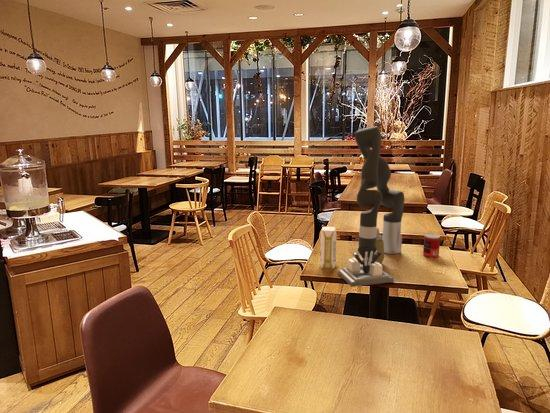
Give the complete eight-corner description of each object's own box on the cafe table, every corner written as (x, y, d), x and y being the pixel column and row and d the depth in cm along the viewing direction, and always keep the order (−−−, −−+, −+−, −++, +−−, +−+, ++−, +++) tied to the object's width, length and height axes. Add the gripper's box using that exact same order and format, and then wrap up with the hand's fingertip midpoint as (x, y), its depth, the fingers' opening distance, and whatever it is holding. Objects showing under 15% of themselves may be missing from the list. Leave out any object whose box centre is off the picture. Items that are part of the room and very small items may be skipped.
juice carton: (335, 263, 207) (336, 226, 202) (335, 269, 198) (336, 231, 194) (320, 262, 208) (321, 225, 203) (319, 268, 199) (320, 230, 195)
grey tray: (377, 269, 198) (377, 263, 197) (393, 281, 184) (393, 275, 183) (337, 273, 193) (338, 267, 193) (351, 286, 179) (351, 280, 178)
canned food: (440, 254, 218) (441, 234, 215) (436, 259, 211) (438, 238, 209) (424, 252, 222) (426, 232, 219) (421, 256, 215) (422, 236, 213)
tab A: (356, 268, 193) (356, 257, 191) (359, 271, 189) (360, 260, 188) (347, 269, 192) (348, 257, 191) (351, 272, 188) (352, 260, 187)
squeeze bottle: (364, 263, 206) (365, 228, 202) (372, 259, 211) (374, 225, 207) (378, 267, 200) (380, 231, 196) (387, 263, 206) (389, 228, 202)
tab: (377, 272, 188) (378, 260, 187) (381, 275, 184) (382, 264, 183) (369, 273, 187) (369, 261, 186) (373, 276, 183) (374, 264, 182)
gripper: (377, 231, 185) (375, 268, 189) (350, 233, 182) (348, 271, 186) (385, 236, 178) (383, 274, 182) (357, 238, 175) (355, 277, 179)
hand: (366, 272), depth 184 cm, fingers closed
